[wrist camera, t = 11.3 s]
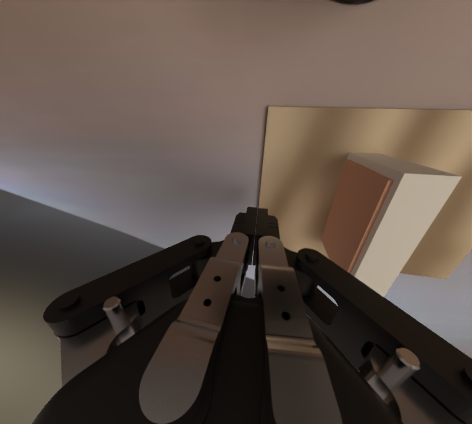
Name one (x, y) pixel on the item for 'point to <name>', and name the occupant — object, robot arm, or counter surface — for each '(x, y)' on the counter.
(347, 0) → the milk frother
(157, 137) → the counter surface
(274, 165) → the mat
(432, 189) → the card box
